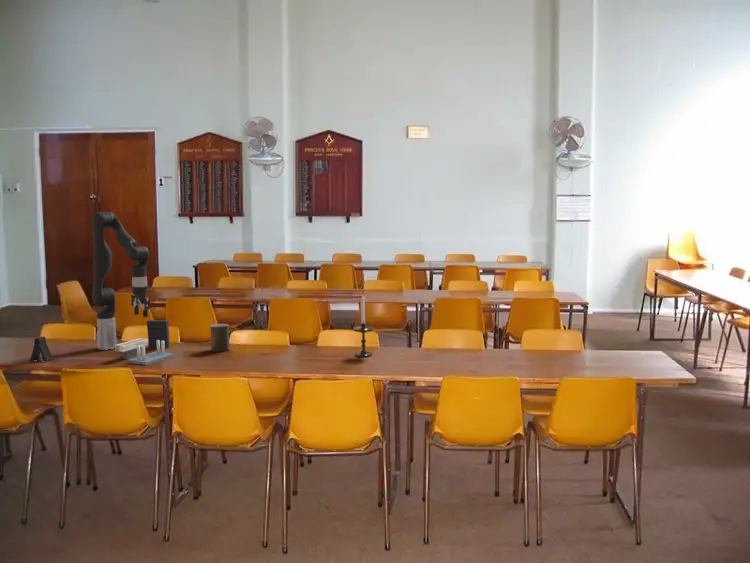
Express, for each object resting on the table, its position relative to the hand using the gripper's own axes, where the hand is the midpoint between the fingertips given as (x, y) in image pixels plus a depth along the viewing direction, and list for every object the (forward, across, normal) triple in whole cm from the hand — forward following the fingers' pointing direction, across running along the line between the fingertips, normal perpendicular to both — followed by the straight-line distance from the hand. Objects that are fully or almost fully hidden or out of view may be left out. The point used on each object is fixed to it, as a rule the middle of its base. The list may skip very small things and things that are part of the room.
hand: (141, 315), depth 379 cm
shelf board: (+17, -3, -4) cm, 17 cm away
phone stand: (+23, -33, -38) cm, 55 cm away
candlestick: (+20, +87, +77) cm, 118 cm away
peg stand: (+21, +10, -1) cm, 24 cm away
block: (+22, -3, -4) cm, 22 cm away
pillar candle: (+21, +20, +35) cm, 46 cm away
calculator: (+22, -12, +17) cm, 30 cm away
